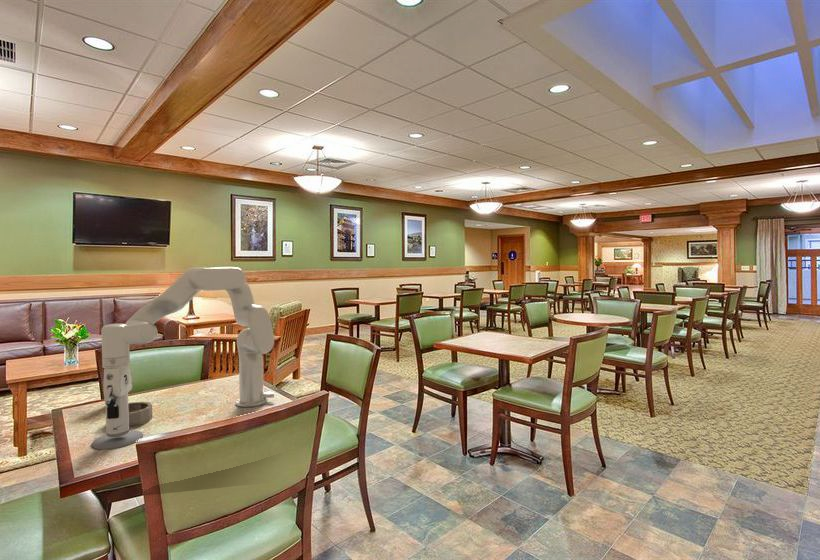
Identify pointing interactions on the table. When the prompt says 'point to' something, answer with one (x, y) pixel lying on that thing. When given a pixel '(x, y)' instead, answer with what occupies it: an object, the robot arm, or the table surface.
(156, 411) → the table surface
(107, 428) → the travel mug
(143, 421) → the collar
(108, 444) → the mat
